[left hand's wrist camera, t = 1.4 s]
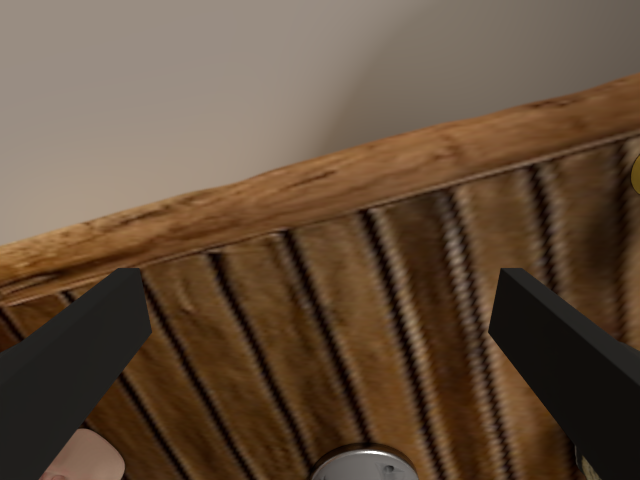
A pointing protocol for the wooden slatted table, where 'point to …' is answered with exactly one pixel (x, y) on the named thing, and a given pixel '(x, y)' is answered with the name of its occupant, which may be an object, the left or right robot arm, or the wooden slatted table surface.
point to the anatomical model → (86, 459)
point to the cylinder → (636, 175)
